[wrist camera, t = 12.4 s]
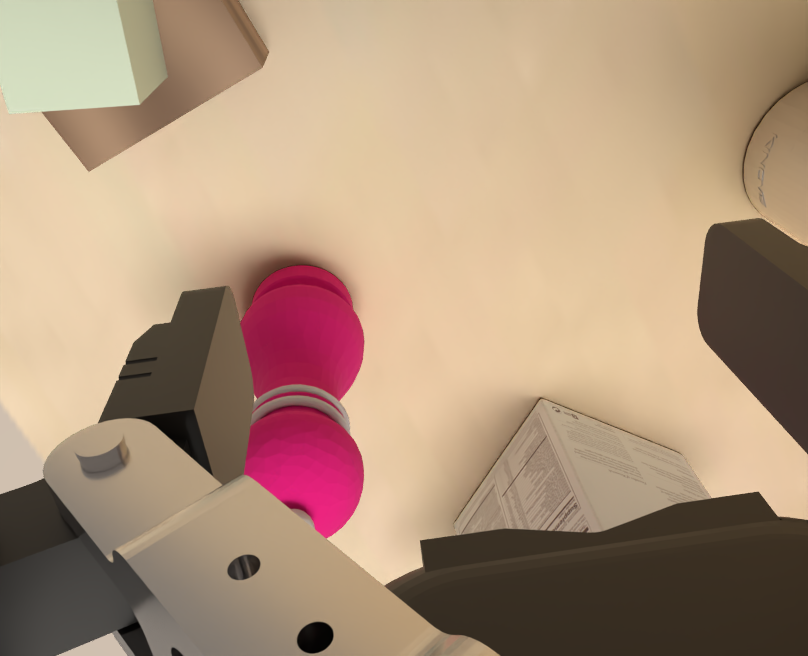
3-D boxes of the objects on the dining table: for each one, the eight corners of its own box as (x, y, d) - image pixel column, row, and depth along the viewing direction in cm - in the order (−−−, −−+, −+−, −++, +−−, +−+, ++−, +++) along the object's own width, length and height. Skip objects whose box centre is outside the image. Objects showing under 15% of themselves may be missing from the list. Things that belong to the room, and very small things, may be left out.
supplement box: (448, 525, 56) (495, 752, 41) (539, 393, 51) (632, 596, 35) (589, 570, 60) (680, 792, 45) (686, 452, 55) (828, 657, 39)
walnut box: (149, -149, 34) (123, -160, 30) (269, 51, 39) (262, 67, 34) (-22, -35, 35) (-70, -29, 31) (114, 144, 40) (88, 171, 36)
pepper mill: (248, 249, 43) (201, 467, 26) (369, 264, 45) (400, 483, 27) (239, 353, 47) (191, 608, 29) (351, 364, 48) (369, 616, 31)
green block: (143, -44, 32) (108, -38, 26) (167, 77, 34) (139, 104, 29) (24, -37, 31) (-35, -29, 26) (57, 84, 34) (9, 113, 28)
